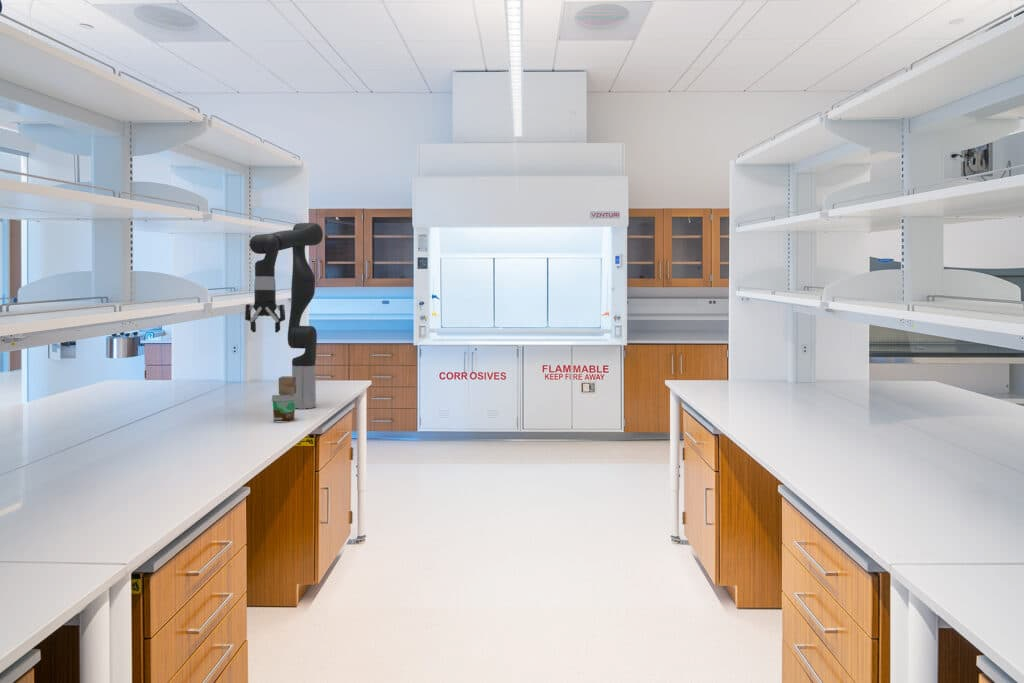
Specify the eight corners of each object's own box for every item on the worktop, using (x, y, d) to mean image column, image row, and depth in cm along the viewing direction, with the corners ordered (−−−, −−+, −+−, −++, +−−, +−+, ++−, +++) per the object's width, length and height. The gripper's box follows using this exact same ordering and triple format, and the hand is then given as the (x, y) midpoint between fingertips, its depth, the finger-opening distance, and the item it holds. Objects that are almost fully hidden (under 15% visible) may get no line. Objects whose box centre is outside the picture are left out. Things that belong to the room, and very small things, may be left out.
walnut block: (282, 392, 292) (282, 376, 292) (296, 392, 292) (296, 376, 292) (278, 394, 287) (278, 377, 287) (292, 394, 287) (292, 378, 287)
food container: (287, 423, 284) (287, 395, 283) (271, 422, 285) (271, 395, 284) (303, 417, 296) (303, 391, 295) (288, 417, 297) (287, 390, 296)
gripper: (286, 289, 297) (287, 331, 298) (249, 288, 297) (249, 331, 298) (281, 289, 289) (281, 333, 291) (242, 288, 289) (243, 332, 290)
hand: (265, 332), depth 294 cm, fingers open, 8 cm apart
